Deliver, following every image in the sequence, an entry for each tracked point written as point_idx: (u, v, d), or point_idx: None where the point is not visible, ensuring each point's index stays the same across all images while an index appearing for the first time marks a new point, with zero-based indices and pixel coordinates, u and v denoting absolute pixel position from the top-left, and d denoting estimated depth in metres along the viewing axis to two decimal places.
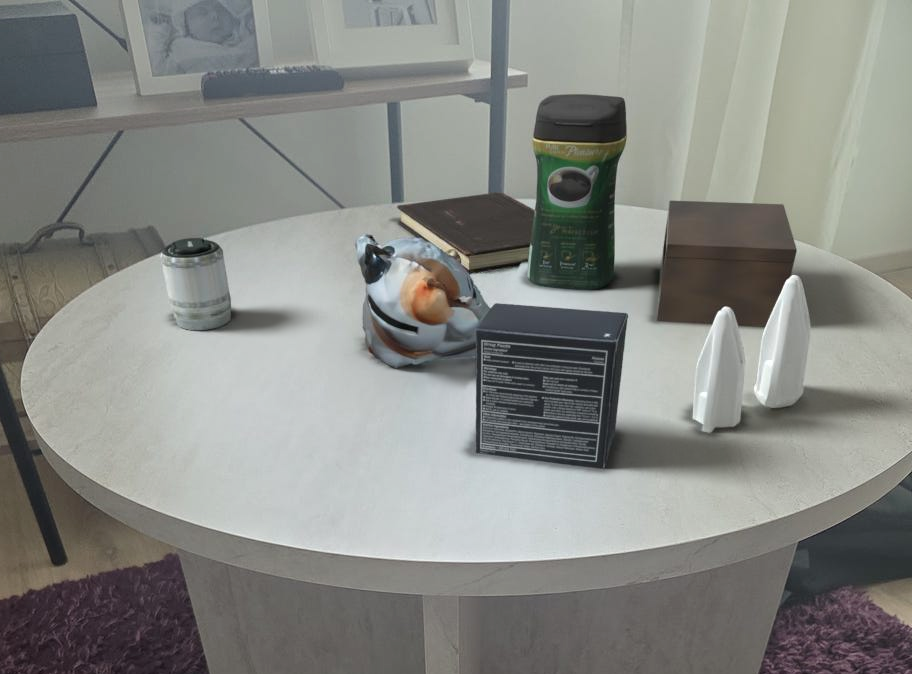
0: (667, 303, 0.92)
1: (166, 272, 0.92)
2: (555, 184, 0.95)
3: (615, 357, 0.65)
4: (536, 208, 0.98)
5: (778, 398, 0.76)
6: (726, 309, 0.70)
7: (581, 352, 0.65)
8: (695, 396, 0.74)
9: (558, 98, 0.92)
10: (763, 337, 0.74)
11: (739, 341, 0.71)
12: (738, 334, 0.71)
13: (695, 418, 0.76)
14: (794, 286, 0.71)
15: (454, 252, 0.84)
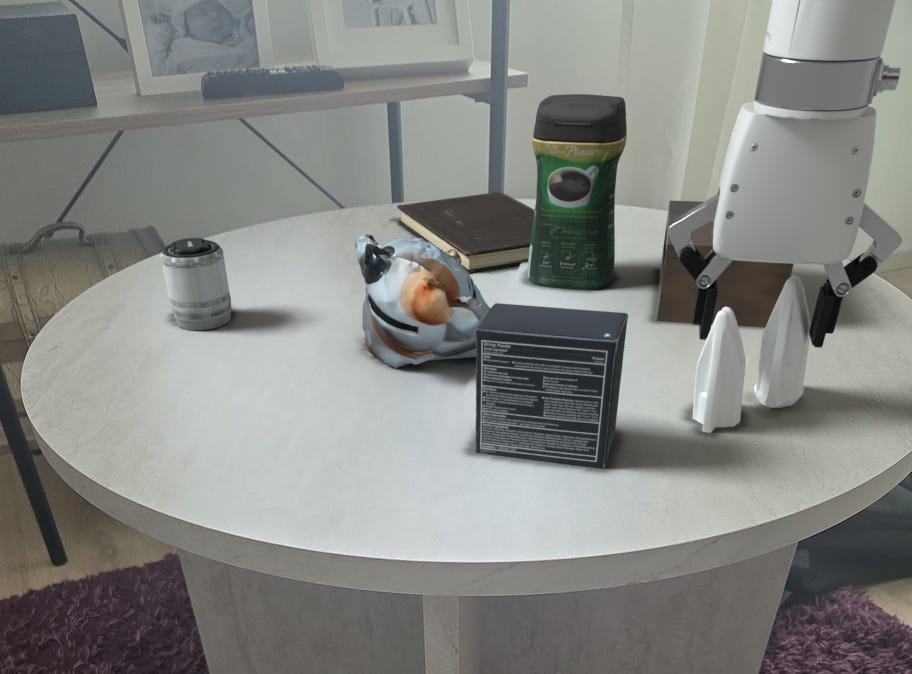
0: (667, 303, 0.92)
1: (166, 272, 0.92)
2: (555, 184, 0.95)
3: (615, 357, 0.65)
4: (536, 208, 0.98)
5: (778, 398, 0.76)
6: (726, 309, 0.70)
7: (581, 352, 0.65)
8: (695, 396, 0.74)
9: (558, 98, 0.92)
10: (763, 337, 0.74)
11: (739, 341, 0.71)
12: (738, 334, 0.71)
13: (695, 418, 0.76)
14: (794, 286, 0.71)
15: (454, 252, 0.84)
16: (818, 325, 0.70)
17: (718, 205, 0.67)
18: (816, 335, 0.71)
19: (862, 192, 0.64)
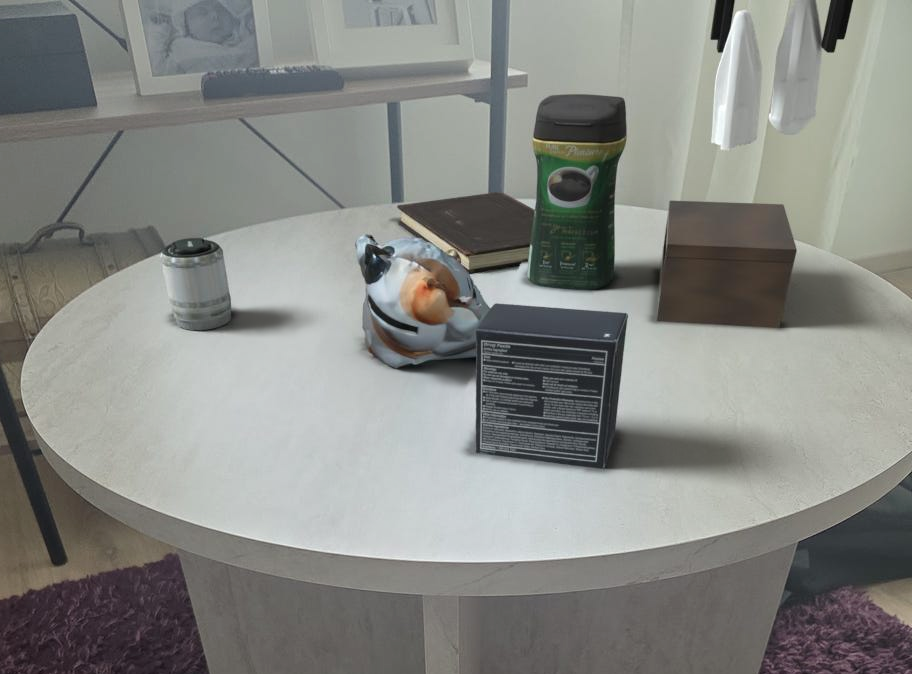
0: (667, 303, 0.92)
1: (166, 272, 0.92)
2: (555, 184, 0.95)
3: (615, 357, 0.65)
4: (536, 208, 0.98)
5: (792, 118, 0.80)
6: None
7: (581, 352, 0.65)
8: (714, 111, 0.78)
9: (558, 98, 0.92)
10: (778, 54, 0.78)
11: (756, 47, 0.75)
12: (755, 40, 0.75)
13: (714, 137, 0.79)
14: None
15: (454, 252, 0.84)
16: (831, 27, 0.74)
17: None
18: (829, 38, 0.75)
19: None
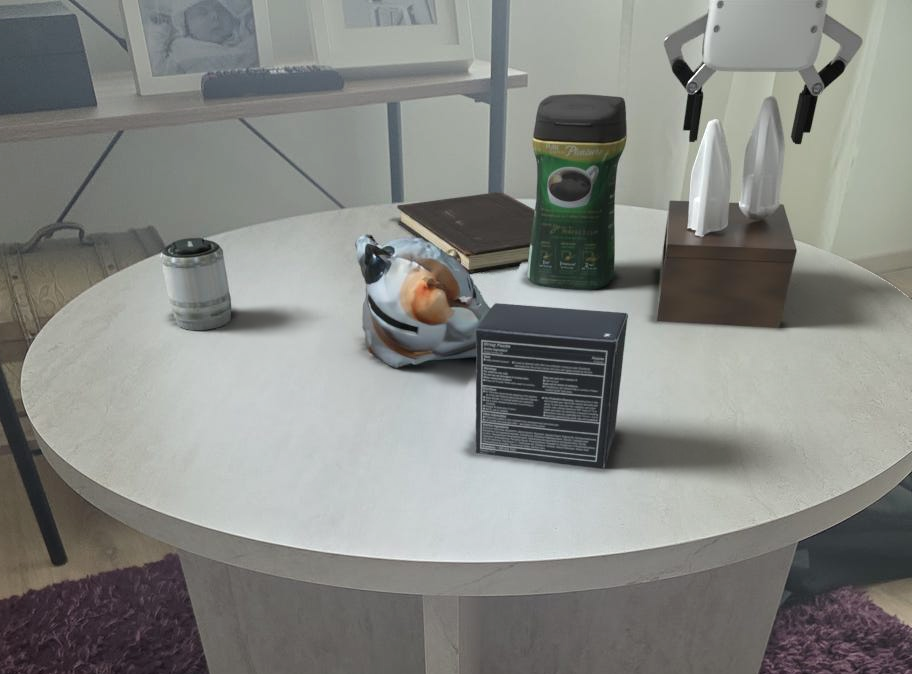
0: (667, 303, 0.92)
1: (166, 272, 0.92)
2: (555, 184, 0.95)
3: (615, 357, 0.65)
4: (536, 208, 0.98)
5: (759, 207, 0.91)
6: (715, 121, 0.85)
7: (581, 352, 0.65)
8: (690, 202, 0.90)
9: (558, 98, 0.92)
10: (746, 153, 0.90)
11: (726, 150, 0.87)
12: (725, 144, 0.87)
13: (690, 223, 0.91)
14: (771, 103, 0.86)
15: (454, 252, 0.84)
16: (797, 123, 0.85)
17: (707, 22, 0.82)
18: (796, 132, 0.86)
19: (823, 3, 0.79)
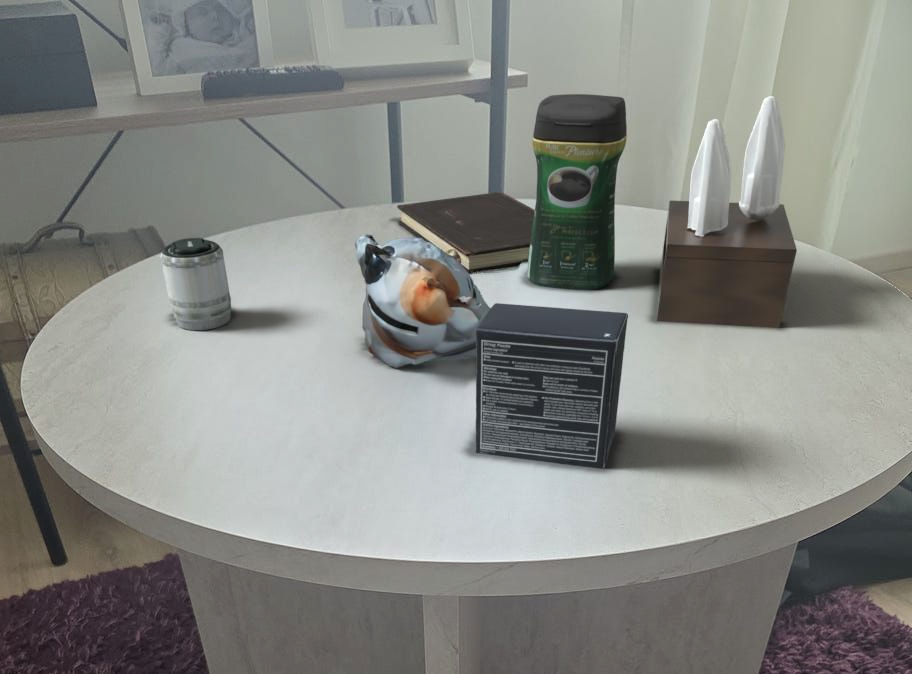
0: (667, 303, 0.92)
1: (166, 272, 0.92)
2: (555, 184, 0.95)
3: (615, 357, 0.65)
4: (536, 208, 0.98)
5: (759, 207, 0.91)
6: (715, 121, 0.85)
7: (581, 352, 0.65)
8: (690, 202, 0.90)
9: (558, 98, 0.92)
10: (746, 153, 0.90)
11: (726, 150, 0.87)
12: (725, 143, 0.87)
13: (690, 223, 0.91)
14: (771, 103, 0.86)
15: (454, 252, 0.84)
16: None
17: None
18: None
19: None
